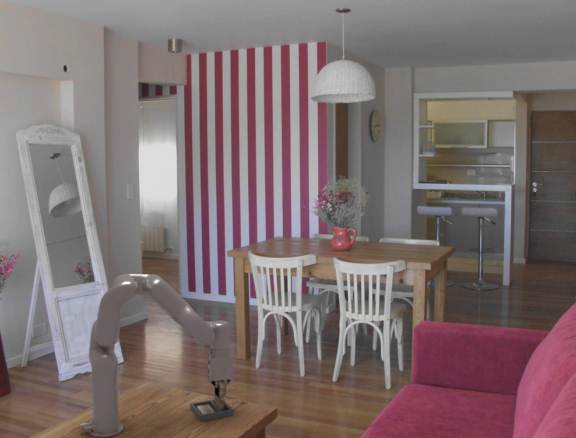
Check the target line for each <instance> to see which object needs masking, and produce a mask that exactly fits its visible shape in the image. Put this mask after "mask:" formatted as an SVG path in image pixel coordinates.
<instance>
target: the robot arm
mask: <svg viewBox="0 0 576 438" xmlns="http://www.w3.org/2000/svg"><path fill="white" fill-rule="evenodd" d="M137 296H148V297H149V298H150V299H151V300H152V301H153V303H155V304H156V305H157V306H158V307H159V308H160V309H162V311H163V312H165V314H166V315H168V316H169V317H170V319H172V320H173V321H174V322H175V323H176V324H178V325H179V326H180V327H182V329H184V330H185V332H187V333H188V334H189V335H190V336H191V337H192V338H193V339H194V340H195V341H196V342H197V343H199V344H200V345H201V346H209V345H210V349H207V354H209V356H208V362H207V373H206V376H207V377H206V378H205V379H206V380H205V382H206V383H207V384H211V385H212V386H213V387H214V396H215V395H216V396H217V397H219V386H218V381H221V380H224V382H225V383H226V387H227V386H228V384H229V383H230V382H231V381H233V380H235V371H234V368H235V367H234V362H233V360H234V359H233V355H232V354H231V353H230V350H231V349H230V347H231V346H230V342H231V337H230V332H231V331H230V330H231V329H230V327H231V326H230V323H229V322H228V321H227V320H221V319H220V320H214V321H211V320H210V321H208V320H207V321H206V320H204V319H203V318H202V317H201V316H200V315H199V314H198V313H197V312H196V311H195V309H193V308H192V306H191V305H190V304H189V303H188V302H187V301H186V300H185V299H184V298H183V297H182V296H181V295H180V294H179V293H178V292H177V291H176V290H175V289H174V288H173V287H172V286H171V285H170V284H169V283H168V282H167V281H166V280H164V279H163V278H162V277H161V276H160V275H158V274H153V273H152V274H148V273H147V274H145V273H144V274H143V273H123V274H120V275H117V276H116V277H115V278H114V280H113V281H112V286H111V287H110V288H109V289H108V290H107V291H106V292H105V293H104V294H103V295H102V298H101V299H100V301H99V305H98V313H97V319H96V320H94V322H93V324H92V326H91V330H90V331H91V332H90V338H89V339H90V342H89V350H88V351H89V353H88V358H89V363H90V366H91V393H92V397H91V398H92V418H91V420H90V421H89V422H84V423H80V424H79V425H80V429H81V430H82V429H84V431H88V432H89V435H91V436H92V437H96V438H108V437H113V436H117V435H119V434H121V432H123V431H124V424H123V423H122V422H120V409H119V407H120V404H119V361H118V357H117V355H116V353H115V346H116V344H117V343H118V341H119V338H120V336H121V335H120V334H121V333H120V332H121V331H120V330H121V319H122V312H123V309H124V306H125V305H127V303H128V302H130V301H133V299H135V298H136V297H137Z"/></svg>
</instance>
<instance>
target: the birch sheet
mask: <svg viewBox="0 0 576 438" xmlns="http://www.w3.org/2000/svg"><path fill="white" fill-rule="evenodd" d="M218 386H219V397H217V396H216V395H215V394H214V399H213V400H214V402H215V404H216V405H217V406H218V407H219V408H220V410H221V411H225V409H224V405H225V402H226V393H227V386H226V383H225V382H224V380H221V381H218Z"/></svg>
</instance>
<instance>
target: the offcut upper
mask: <svg viewBox="0 0 576 438" xmlns="http://www.w3.org/2000/svg"><path fill="white" fill-rule="evenodd" d="M197 409H198V410H199V412H200V413H201V414H202V415H203V414H209V413H214V412H215V411H214V410H213V409H212V408H211V407H210V406H209V404H208V405H202V406H197Z"/></svg>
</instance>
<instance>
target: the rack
mask: <svg viewBox="0 0 576 438" xmlns="http://www.w3.org/2000/svg"><path fill="white" fill-rule="evenodd" d="M208 404H209V406H210V407H211V408H212V409H213V411H214V413H209V414H203V415H202V414H201V413H200V412H199V410H198V409H197V406H202V405H208ZM189 405H190V406H189V410H190V411H191V412H192V413H193V415H194V416H195V417H196V418H197V419H198V421H199V422H200V423H201V422H205V421H212V420H217V419H223V418H227V417H233V416H234V409H233V408H232V407H231V406H230V405H229V404H228V403H227V402H226V401H225V405H224V410H223V411H221V410H220V408H219V407H218V406H217V405H216V404H215V402H214V399H209V400H204V401H203V400H202V401H197V402H191V403H189Z"/></svg>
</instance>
